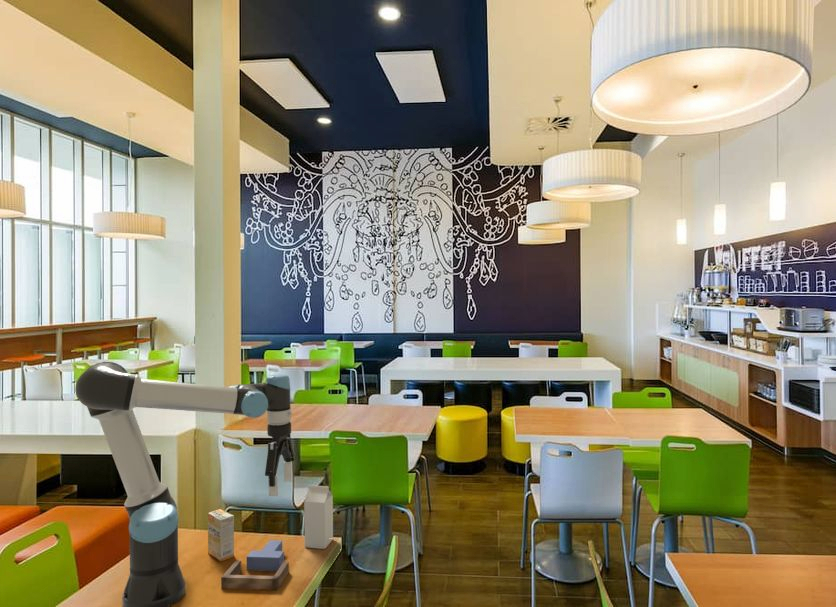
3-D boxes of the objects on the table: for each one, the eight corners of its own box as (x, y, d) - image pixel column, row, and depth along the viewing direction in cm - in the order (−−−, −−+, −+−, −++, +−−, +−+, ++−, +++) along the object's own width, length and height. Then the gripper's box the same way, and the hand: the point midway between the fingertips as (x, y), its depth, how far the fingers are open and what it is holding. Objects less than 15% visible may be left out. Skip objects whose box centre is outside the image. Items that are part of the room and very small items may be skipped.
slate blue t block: (260, 552, 163) (260, 539, 163) (291, 553, 162) (291, 540, 162) (246, 570, 152) (246, 556, 152) (279, 571, 151) (279, 557, 151)
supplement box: (207, 554, 162) (206, 512, 162) (221, 548, 166) (221, 508, 166) (220, 562, 157) (219, 519, 157) (234, 556, 161) (234, 514, 161)
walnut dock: (221, 588, 142) (221, 577, 142) (236, 570, 152) (236, 560, 152) (277, 590, 141) (277, 579, 141) (288, 572, 151) (288, 561, 151)
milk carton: (325, 549, 165) (324, 490, 165) (304, 547, 166) (304, 489, 166) (333, 539, 171) (332, 482, 172) (313, 537, 173) (312, 481, 173)
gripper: (276, 432, 154) (278, 503, 154) (302, 414, 179) (304, 475, 179) (252, 432, 155) (254, 502, 155) (281, 414, 179) (283, 475, 179)
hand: (281, 488), depth 167 cm, fingers open, 12 cm apart
